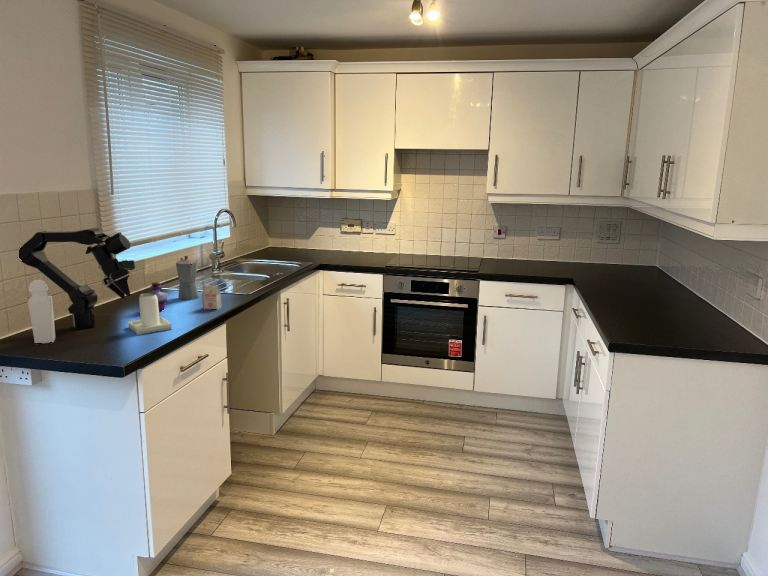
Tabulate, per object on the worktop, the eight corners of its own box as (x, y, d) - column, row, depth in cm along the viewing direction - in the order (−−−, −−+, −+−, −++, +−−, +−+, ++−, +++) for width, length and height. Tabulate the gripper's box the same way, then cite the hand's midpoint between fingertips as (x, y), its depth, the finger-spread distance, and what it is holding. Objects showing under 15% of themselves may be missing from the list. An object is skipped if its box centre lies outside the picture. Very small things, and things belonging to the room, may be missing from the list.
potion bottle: (173, 308, 245) (170, 281, 242) (161, 313, 236) (158, 285, 234) (155, 307, 247) (153, 280, 244) (142, 312, 238) (140, 284, 236)
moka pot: (184, 302, 255) (181, 258, 251) (171, 296, 267) (168, 254, 262) (204, 299, 261) (202, 256, 257) (191, 293, 273) (188, 252, 268)
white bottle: (33, 344, 195) (24, 282, 190) (36, 339, 200) (28, 278, 196) (54, 342, 197) (47, 280, 192) (57, 337, 203) (49, 277, 198)
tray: (136, 335, 206) (136, 329, 206) (128, 327, 216) (128, 321, 216) (171, 329, 214) (171, 323, 213) (162, 322, 223) (162, 316, 223)
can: (148, 322, 219) (145, 292, 217) (163, 323, 218) (160, 292, 215) (137, 326, 213) (134, 295, 211) (153, 327, 212) (150, 296, 209)
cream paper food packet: (207, 306, 248) (206, 284, 246) (221, 307, 246) (220, 285, 244) (203, 308, 244) (201, 286, 242) (217, 310, 243) (215, 287, 240)
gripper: (131, 247, 208) (152, 285, 211) (121, 254, 223) (140, 290, 226) (101, 259, 201) (124, 298, 204) (93, 266, 216) (113, 302, 219)
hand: (126, 297), depth 214 cm, fingers open, 9 cm apart
